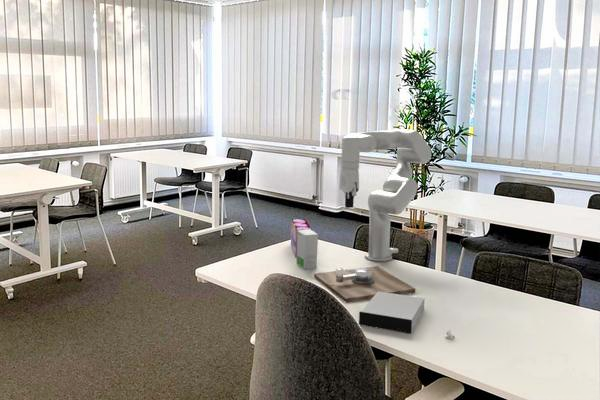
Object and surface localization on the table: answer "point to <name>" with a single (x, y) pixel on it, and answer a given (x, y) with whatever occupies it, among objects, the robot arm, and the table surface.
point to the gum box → (295, 227)
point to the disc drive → (392, 312)
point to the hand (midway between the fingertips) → (349, 207)
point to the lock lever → (354, 275)
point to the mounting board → (364, 284)
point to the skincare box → (307, 249)
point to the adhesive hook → (449, 334)
